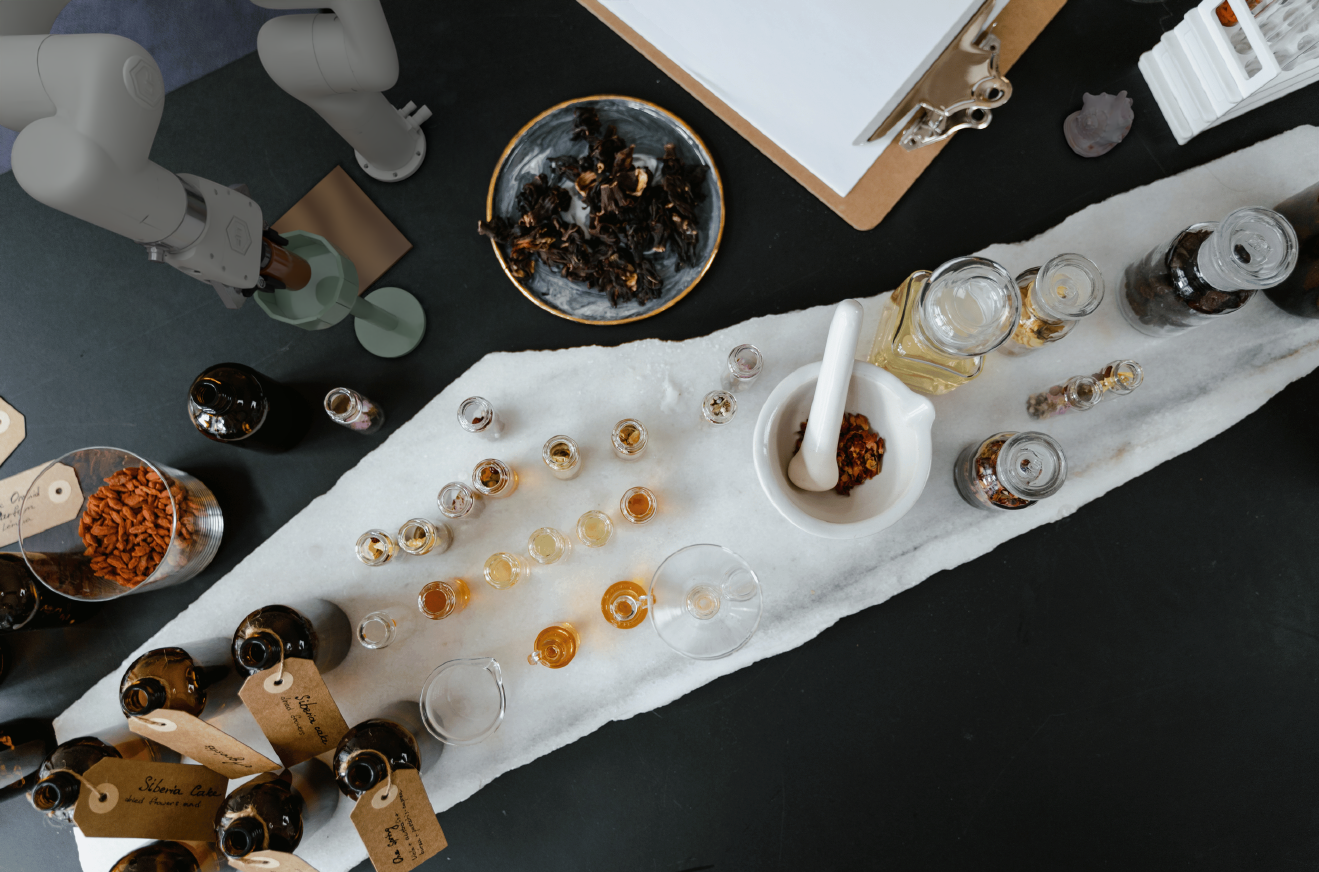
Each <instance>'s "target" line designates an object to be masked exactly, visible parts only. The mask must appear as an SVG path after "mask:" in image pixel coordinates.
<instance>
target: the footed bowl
mask: <svg viewBox="0 0 1319 872" xmlns="http://www.w3.org/2000/svg"><path fill="white" fill-rule="evenodd" d="M279 235H280V236H282V237H284V238H285V239H287V240H289V245H287V246H282V247H284V248H286V249H288V250H290V251H292V252H293V253H295V254H297V255H299V256H301V257H303V258H304V259H306V260H307V262H308V263H309V265H310V267H311V279H310V281H309V283H308V284H307V285H306V286H305V287H304V288H303V289H301V290H298V291H288V290H285V289H275V293H265V292H261V291H258V290H257V291H256V292H255V293H254V294H253V295H252V296H253V299H254V301H255V302H256V303H257V304H258V306H260V308H261V309H262V310H263V311H264V312H265V314H267V316H269V318H271V319H273V320H276V321H279V322H281V323H284V324H287V325H289V326H293V327H296V328H298V329H299V328H300V329H303V330H306V331H319V330H325V329H329V328H331V327H333V326H335V325H338V323H341V322H342V321H343V320H345V318H346V317H347V316H348V315H351V316H353V317H354V330H355V335H356V337H357V339H358V341H359V343H360V344H361V345H362V347H363V348H364V349H365V350H367V351H368V352H369V353H371V354H373V355H375V356H377V357H381V358H385V359H396V358H400V357H405V356H406V355H408V354H410V353H412V351H414V350H415V349H416V348H417V347H418V346H419V345H420V343H421V342H422V340H423V338H424V336H425V333H426V329H427V317H426V312H425V310H424V309H425V308H424V307H423V305H422V303H421V302H420V301H419V299H418V298H417V297H416V296H415V295H414V294H412V293H411V292H409V291H407V290H406V289H402V288H400V287H395V286H394V287H393V286H385V287H381V288H378V289H376V290H373V291H372V292H370V293H368V295H366V296H365V297H364V298H363V296H361V295H360V296H358V291H359V279H358V274H357V270H356V268H355V266H354V264H353V262H352V260H351V259H350V258H349V257H348V255H346V254H345V253H344V252H343V251H342V250H341V249H340V247H338V246H337V245H335V244H334V243H332V242H331V241H329V240H327V239H326V238H324V237H323V236H320V235H316V234H313V233H310V232H306V231H303V230H296V231H292V232H287V233H283V234H279Z"/></svg>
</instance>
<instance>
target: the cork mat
mask: <svg viewBox="0 0 1319 872" xmlns="http://www.w3.org/2000/svg"><path fill="white" fill-rule="evenodd" d="M269 227H270V228H272V229H274V230H275V231H277V232H278V235H279V234H283V233H287V232H292V231H296V230H303V231H306V232H310V233H313V234H316V235H320V236H323V237H324V238H326V239H327V240H329V241H331V242H332V243H334V244H335V245H337V246H338V247H340V249H341V250H342V251H343V252H344V253H345V254H346V255H348V257H349V258H350V259H351V260H352V262H353V264H354V266H355V268H356V270H357V274H358V279H359V291H358V296H360V297H361V296H362V295H363V294H364V293H365V292H366V291H367V290H369V288H370V287H371V286H373V285H374V284H375V283H376V282H377V281H378V280H379V279H381V277H382V276H384V275H385V274H386V273H387V272H388V271H389V270H390V269H391V268H392V267H393V266H394V265H395V264H397V263H398V262H399V261H400V260H401V259H402V258H403V257H404V256H406V254H408V253H409V251H411V250H412V249H413V248H414V244H412V243H411V242H410V241H409V239H407V238H406V237H405V235H404V234H403V233H402V232H401V231H400V230H399V229H398V227H396V225H394V223H393V222H392V221H391V220H390V219H389V218H388V217H387V216H386V215H385V214H384V212H383V211H382V210H381V209H380V208H379V207H378V205H376V204H375V202H374V201H373V200H372V199H371V198H370V196H368V195H367V194H366V193H365V192H364V191H363V189H362V188H361V187H360V186H359V185H358V184H357V183H356V182H355V181H354V179H352V177H351V176H350V175H349V173H347V172H346V171H345V170H344V169H343V168H342V166H340V164H338V165H337V166H336V167H334V168H333V169H332V170H331V171H329V173H328V174H327V175H326V176H325V177H324V178H322V179H321V180H320V181H319V182H318V183H317V184H316V185H315V186H314V187H313V188H311V190H309V191H308V192H307V193H306V194H305V195H304V196H303V197H302V198H300V199H299V200H298V201H297V202H296V203H295V204H294V205H293V206H292V207H291V208H290V209H288V210H287V211H286V212H285V213H284V214H283V215H282V216H281V217H280V218H279V219H278V220H276V222H275V223H274V224H272V225H271V226H269Z"/></svg>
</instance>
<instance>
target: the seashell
mask: <svg viewBox="0 0 1319 872" xmlns="http://www.w3.org/2000/svg"><path fill="white" fill-rule="evenodd" d="M1127 95H1128V91H1127V90H1121V91H1119V92H1118V94H1117V95H1114V94H1108V93H1106V92H1105V91H1104V92H1101V93H1100V94H1097V95H1094V94H1090V93H1089V92H1085V93H1084V94H1083V95H1082V101H1083V105H1082V107H1081V109H1080V110H1076V111H1074V112H1072V113H1071V114H1070V115H1068V116H1067V117H1066V119H1065V120H1064V122H1063V133H1064V136H1065V140H1066V142H1067V144H1068V145H1069V148H1071V149H1072V151H1073V152H1074V153H1075V154H1077V155H1079V156H1081V157H1084V158H1097V157H1100V156H1103V155H1104V154H1106V153H1108V152H1109V151H1111V150H1112V149H1113V148H1114V147H1115V146H1116V145H1118V144H1120V143H1122V141H1123V140H1124V139H1125V137H1126V136H1127V135H1128V133H1130V130H1131V127H1132V124H1133V120H1134V118H1135V114H1134V111H1133V109H1132V106H1133V103H1134V100H1133V98H1132V97H1127Z"/></svg>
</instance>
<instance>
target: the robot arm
mask: <svg viewBox="0 0 1319 872" xmlns="http://www.w3.org/2000/svg"><path fill="white" fill-rule="evenodd" d="M71 1H72V0H0V126H1V127H3V128H5V129H8V130H11V131H13V132H16V133H19V134H18V135H17V136H16V138H15V140H14V141H13V145H12V147H11V153H10V166H11V169H12V170H11V171H12V174H13V175H14V177H15V180H16V181H17V183H18V184H19V186H20V187H21V188H22V190H23V191H24V192H25V193H27V195H28V196H30V197H31V198H33V199H34V200H36V201H37V202H39V203H41V204H43V205H45V206H47V207H50V208H52V209H55V210H56V211H59V212H62V213H65V214H67V215H69V216H72V217H74V218H77V219H80V220H82V221H85V222H87V223H90V224H92V225H95V226H97V227H100V228H102V229H105V230H107V231H109V232H112V233H115V234H117V235H120V236H123V237H125V238H128V239H131V240H132V241H134V243H135V244H137V245H139V246H142V247H144V249H145V250H146V253H147V254H148V256H147V260H148V262H151V263H154V264H161V265H162V264H165V263H167V264H168V265H170V266H172V267H173V268H175V269H176V270H178V271H180V272H182V273H183V274H185V275H187V276H189V277H190V278H191V277H192V278H193V279H196V280H198V281H200V282H202V283H205V284H207V285H210V286H212V287H213V289H214V290H215V292H216V293H217V294H218V296H219V298H220V299H221V301H222V302H223V305H224V306H225V307H226V309H228V310H241V309H242V307H243V306H244V305H245V303H246V302H247V298H251V297H252V296H254V295H253V294H254V293H255V292H256V291H257V290H258V291H261V292H265V293H275V289H286V285H285V283H283V282H281V281H279V280H277V279H274V278H272V277H270V276H266V275H259V273H260V260H261V245H262V236H263V237H265V238H267V239H269V240H271V241H273V242H275V243H276V244H278V245H280V246H287V245H289V240H287V239H285V238H284V237H282V236H280V235H278V232H277V231H275V230H274V229H272V228H270V227H271V226H269V225H270V224H269V222H268V220H266V219H263V212H262V208H261V207H260V205H259V204H258V203H257V202H256V201H255V200H254V199H253V197H252V195H251V190H250V189H249V185H248V184H247V183H239V182H238V183H232V184H230V185H228V186H226V185H223V184H221V183H218V182H215V181H214V180H211V179H208V178H206V177H202V176H199V175H195V174H191V173H188V172H179V173H174V172H172V171H171V170H169V169H167V168H165V167H163V166H162V165H160V164H158V163H157V162H155V161H153V160H151V159H149V156H150V153H151V150H152V147H153V143H154V141H155V138H156V135H157V132H158V129H159V126H160V123H161V120H162V117H163V114H164V113H163V112H164V108H165V99H166V89H165V82H164V77H163V74H162V71H161V69H160V67H159V65H158V63H157V61H156V60H155V58H154V57H153V56H152V54H150V52H149V51H148V50H147V49H145V48H144V47H143V46H142V45H141V44H140V43H138V42H136V41H135V40H132V39H130V38H129V37H125V36H123V35H119V34H113V33H101V32H96V33H95V32H93V33H67V34H66V33H65V34H64V33H63V34H62V33H51V31H52V28H53V27H54V24H55V21H57V19H58V17H59V15H60V14H61V12H62V11H63V10H64V9H65V8H66V7H67V5H68V4H69V3H70V2H71ZM248 1H249V2H250V3H252V4H254V5H256V6H257V7H260V8H263V9H268V10H304V9H306V10H307V9H311V10H312V9H331V10H332V11H333V13H323V12H322V13H321V12H318V13H317V12H316V13H315V12H314V13H293V14H285V15H278V16H276V17H273V18H271V19H268V20H267V21H266V22H265V23H263V24H262V26H261V27H260V29H259V31H258V33H257V37H256V49H257V54H258V57H259V60H260V62H261V64H262V66H263V68H264V70H265V72H266V73H267V75H268V76H269V78H270V79H271V80H272V81H273V82H274V83H275V84H276V85H277V86H278V87H279V88H280V89H281V90H283V91H284V92H285V93H287V94H288V95H289V96H292V97H293V98H295V99H296V100H298V101H300V102H301V103H303V104H305V105H307V106H308V107H309V108H310V109H312V110H313V111H314V112H315V113H316V114H318V115H319V116H320V117H321V118H322V119H323V120H324V121H325V122H326V123H327V124H328V125H329V126H330V127H331V128H332V129H333V130H334V131H335V132H336V133H337V134H339V135H340V136H341V137H342V139H343V140H344V141H346V143H348V145H350V146H351V147H352V148H353V149H354V155H355V159H356V161H357V164H359V166H360V168H361V169H362V170H363V171H364V173H366V174H367V175H369V176H370V177H371V178H373V179H375V180H377V181H380V182H383V183H396V182H400V181H403V180H406V179H407V178H409V177H411V176H412V175H413V174H415V173H416V172H417V171H418V170H419V168H420V167H421V166H422V164H423V162H424V160H425V157H426V153H427V141H426V135H425V134H424V131H423V129H422V128H421V125H422V124H423V123H424V122H426V121H427V120H428V119H429V118H430V117H432V116H433V113H432V111H431V110H430V109H429V107H428V106H427V105H426V104H424V105H422V106H421V107H419V109H418V110H416V109H417V108H418V106H417V104H415V103H414V102H413V101H412V100H410V101H409V102H408V103H406V104H405V106H404V107H403V108H399V109H397V108H396V107H395V106H394V105H393V104H391V102H390V101H389V100H388V99H387V98H386V96H385V95H384V94H383V93H382V92H385V91H388V90H390V89H392V88H393V87H394V86H395V85H396V84H397V81H398V79H399V77H400V76H399V75H400V63H399V58H398V53H397V48H396V45H395V42H394V38H393V36H392V33H391V30H390V27H389V24H388V21H387V19H386V15H385V13H384V8H383V6H382V4H381V1H380V0H248ZM415 110H416V112H415V113H414V114H413V115H412V116H411V115H410V114H411V113H413V112H414V111H415Z"/></svg>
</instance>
